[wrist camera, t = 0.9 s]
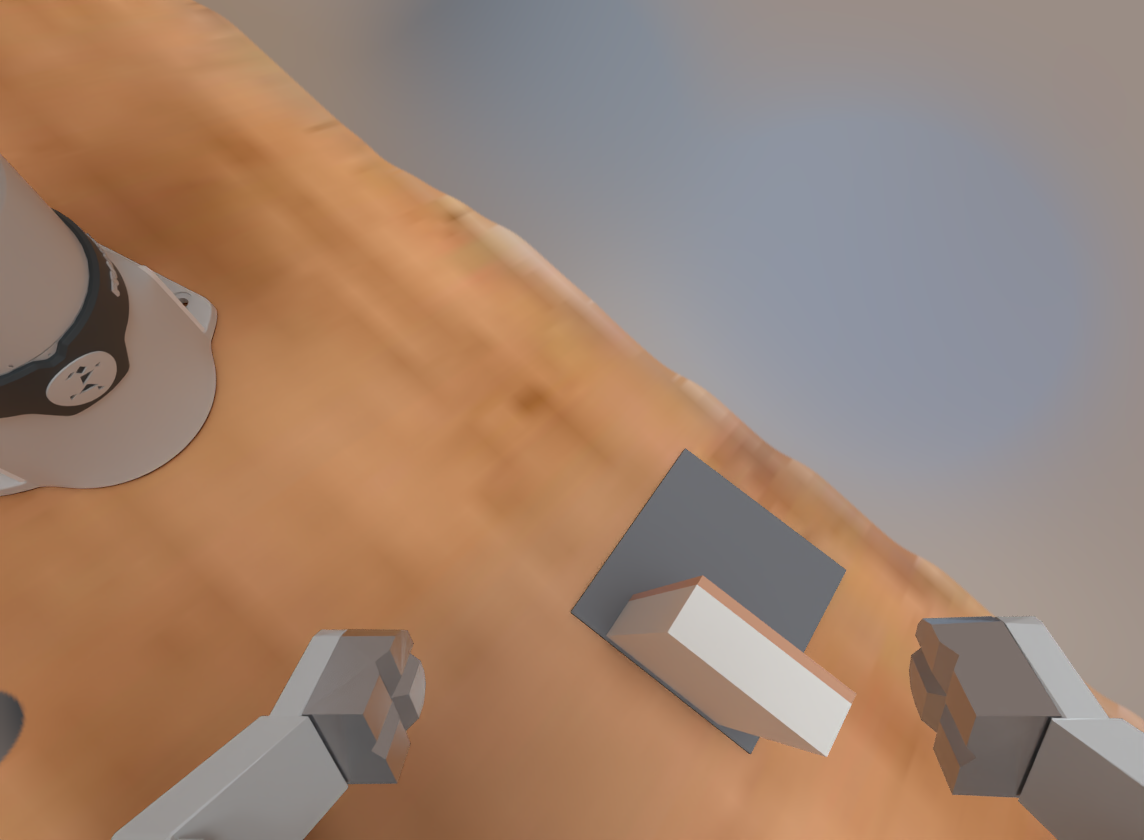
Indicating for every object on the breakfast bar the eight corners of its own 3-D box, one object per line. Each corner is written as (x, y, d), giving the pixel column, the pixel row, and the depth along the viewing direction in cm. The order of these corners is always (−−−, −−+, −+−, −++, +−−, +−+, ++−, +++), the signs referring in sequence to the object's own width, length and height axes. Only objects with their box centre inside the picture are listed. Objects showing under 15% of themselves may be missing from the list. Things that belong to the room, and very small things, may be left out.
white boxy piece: (605, 635, 45) (667, 632, 32) (633, 594, 47) (702, 575, 34) (717, 724, 45) (826, 757, 32) (742, 679, 46) (856, 693, 33)
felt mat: (570, 612, 46) (571, 612, 45) (684, 449, 52) (685, 448, 51) (748, 753, 45) (750, 754, 44) (844, 570, 50) (846, 570, 50)
